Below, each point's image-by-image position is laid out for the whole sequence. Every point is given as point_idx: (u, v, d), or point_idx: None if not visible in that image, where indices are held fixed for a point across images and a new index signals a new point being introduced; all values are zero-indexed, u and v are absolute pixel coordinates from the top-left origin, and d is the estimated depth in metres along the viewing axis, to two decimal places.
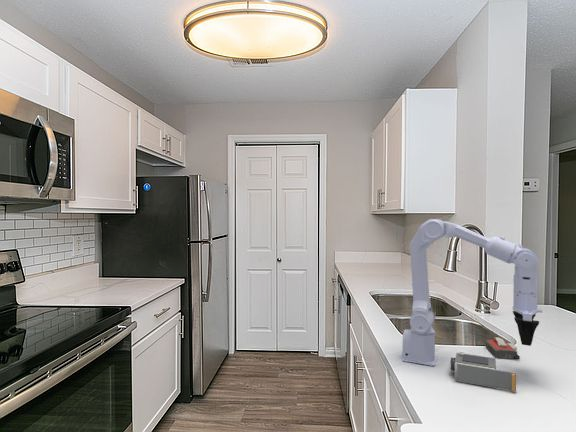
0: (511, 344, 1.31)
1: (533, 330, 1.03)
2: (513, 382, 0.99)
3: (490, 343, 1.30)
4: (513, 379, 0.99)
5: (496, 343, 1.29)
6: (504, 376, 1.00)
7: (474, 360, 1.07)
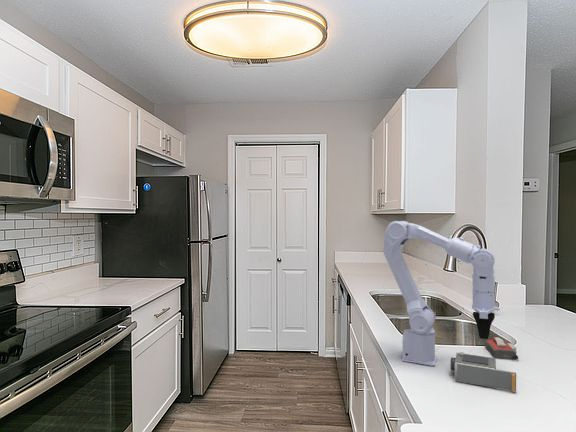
0: (511, 344, 1.30)
1: (489, 324, 1.11)
2: (513, 382, 0.99)
3: (489, 343, 1.30)
4: (513, 379, 0.99)
5: (495, 343, 1.29)
6: (504, 376, 1.00)
7: (474, 360, 1.07)
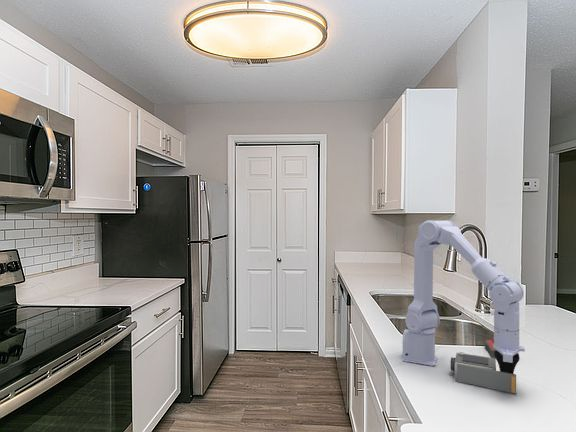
0: None
1: (513, 366, 0.98)
2: (513, 384, 0.98)
3: (488, 343, 1.30)
4: (512, 381, 0.98)
5: None
6: (504, 377, 0.99)
7: (474, 360, 1.07)
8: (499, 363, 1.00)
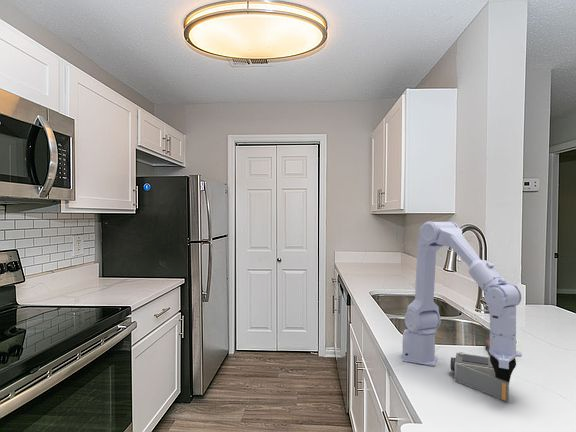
0: None
1: (510, 372, 0.95)
2: (503, 391, 0.94)
3: (488, 343, 1.30)
4: (503, 388, 0.94)
5: None
6: (496, 383, 0.95)
7: (474, 360, 1.07)
8: (495, 369, 0.96)
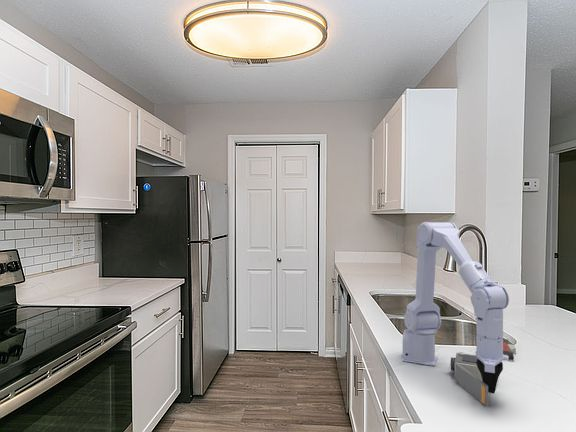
0: (511, 345, 1.30)
1: (496, 377, 0.92)
2: (482, 394, 0.92)
3: None
4: (482, 391, 0.92)
5: None
6: (479, 386, 0.94)
7: (474, 360, 1.07)
8: (481, 373, 0.93)
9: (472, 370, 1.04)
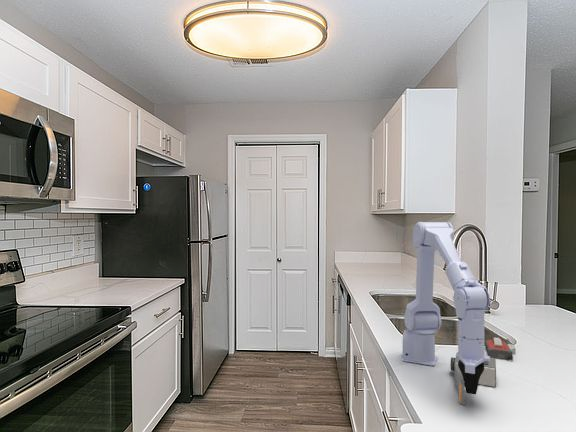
0: (511, 345, 1.29)
1: (478, 377, 0.92)
2: (459, 392, 0.93)
3: (488, 342, 1.30)
4: (459, 389, 0.93)
5: (494, 343, 1.29)
6: None
7: None
8: (463, 374, 0.93)
9: None
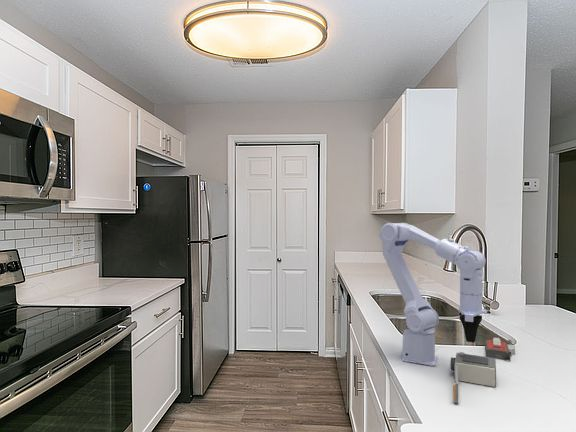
0: (511, 346, 1.29)
1: (476, 327, 1.08)
2: None
3: (487, 342, 1.30)
4: (453, 388, 0.93)
5: (493, 343, 1.29)
6: None
7: (474, 360, 1.07)
8: (463, 325, 1.09)
9: (472, 370, 1.04)
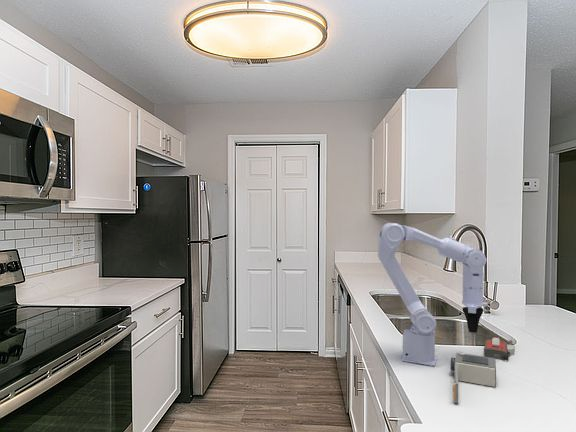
0: (511, 346, 1.29)
1: (478, 319, 1.17)
2: None
3: (486, 342, 1.30)
4: (453, 388, 0.93)
5: None
6: None
7: (474, 360, 1.07)
8: (466, 316, 1.18)
9: (472, 370, 1.04)
